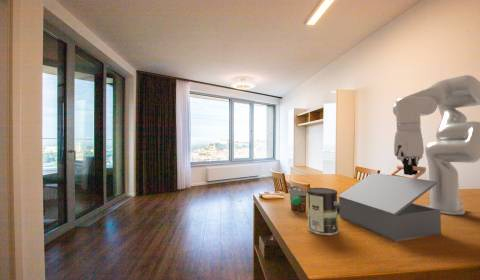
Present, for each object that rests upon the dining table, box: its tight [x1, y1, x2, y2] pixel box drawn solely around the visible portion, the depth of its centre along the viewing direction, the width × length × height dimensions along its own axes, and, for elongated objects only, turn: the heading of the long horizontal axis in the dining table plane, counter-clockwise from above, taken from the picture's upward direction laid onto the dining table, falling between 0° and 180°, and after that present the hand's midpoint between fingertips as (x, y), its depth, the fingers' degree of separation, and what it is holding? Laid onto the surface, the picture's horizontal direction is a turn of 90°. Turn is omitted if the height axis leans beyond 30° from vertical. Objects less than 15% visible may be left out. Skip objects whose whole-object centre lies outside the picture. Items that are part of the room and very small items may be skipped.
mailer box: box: [338, 197, 442, 243], centre depth 80 cm, size 20×24×8 cm
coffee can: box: [306, 187, 339, 236], centre depth 77 cm, size 10×10×14 cm
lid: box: [337, 164, 437, 216], centre depth 81 cm, size 28×25×2 cm
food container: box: [288, 185, 307, 213], centre depth 100 cm, size 12×6×10 cm, turn 5°
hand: (410, 174), depth 84 cm, fingers closed on lid
